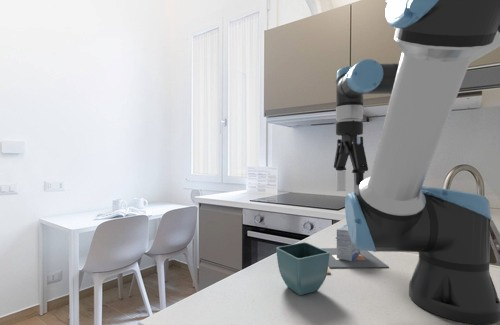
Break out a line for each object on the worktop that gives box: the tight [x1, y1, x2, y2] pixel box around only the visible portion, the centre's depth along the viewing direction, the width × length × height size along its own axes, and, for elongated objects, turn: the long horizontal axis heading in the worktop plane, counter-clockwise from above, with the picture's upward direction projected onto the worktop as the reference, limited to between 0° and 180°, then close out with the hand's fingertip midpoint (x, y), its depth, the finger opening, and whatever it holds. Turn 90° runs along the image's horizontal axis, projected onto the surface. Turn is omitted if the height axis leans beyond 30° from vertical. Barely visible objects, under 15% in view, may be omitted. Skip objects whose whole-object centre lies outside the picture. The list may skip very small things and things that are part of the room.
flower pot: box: [275, 241, 330, 296], centre depth 64 cm, size 9×9×9 cm
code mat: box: [319, 247, 390, 269], centre depth 85 cm, size 16×16×1 cm
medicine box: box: [336, 224, 360, 262], centre depth 85 cm, size 8×4×9 cm, turn 143°
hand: (348, 193), depth 85 cm, fingers open, 13 cm apart
